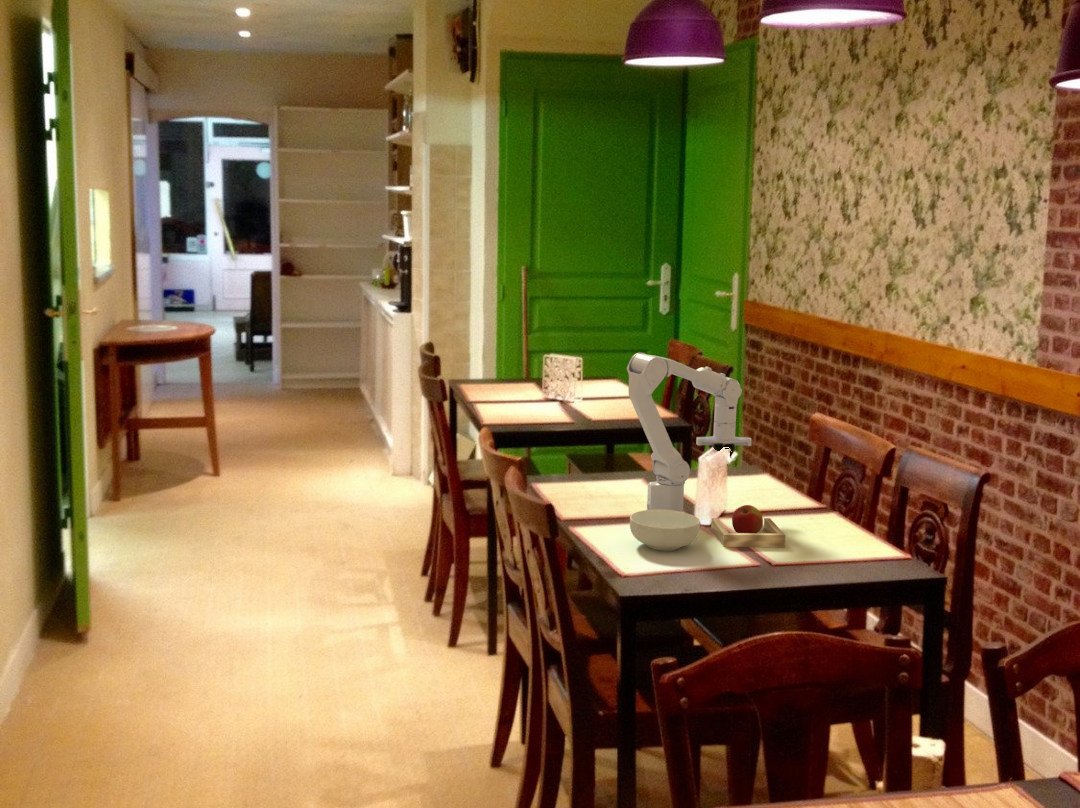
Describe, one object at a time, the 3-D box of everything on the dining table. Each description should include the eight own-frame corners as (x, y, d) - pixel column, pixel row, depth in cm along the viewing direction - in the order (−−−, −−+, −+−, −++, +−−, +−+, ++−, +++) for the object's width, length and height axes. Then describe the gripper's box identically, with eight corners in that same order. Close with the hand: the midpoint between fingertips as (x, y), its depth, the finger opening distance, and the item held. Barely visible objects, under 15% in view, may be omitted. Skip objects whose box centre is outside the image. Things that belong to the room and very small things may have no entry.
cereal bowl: (642, 558, 297) (643, 529, 296) (619, 538, 313) (620, 510, 311) (710, 554, 301) (711, 525, 300) (683, 535, 317) (685, 507, 316)
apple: (724, 533, 319) (726, 502, 318) (752, 531, 322) (754, 500, 320) (740, 542, 312) (741, 510, 311) (768, 539, 315) (770, 508, 314)
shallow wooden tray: (723, 546, 307) (724, 534, 307) (711, 529, 323) (711, 517, 322) (784, 547, 308) (785, 535, 308) (769, 529, 324) (770, 518, 323)
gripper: (700, 424, 334) (698, 474, 336) (755, 425, 335) (752, 475, 337) (695, 419, 341) (693, 468, 343) (749, 420, 342) (746, 469, 344)
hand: (722, 471), depth 341 cm, fingers closed
